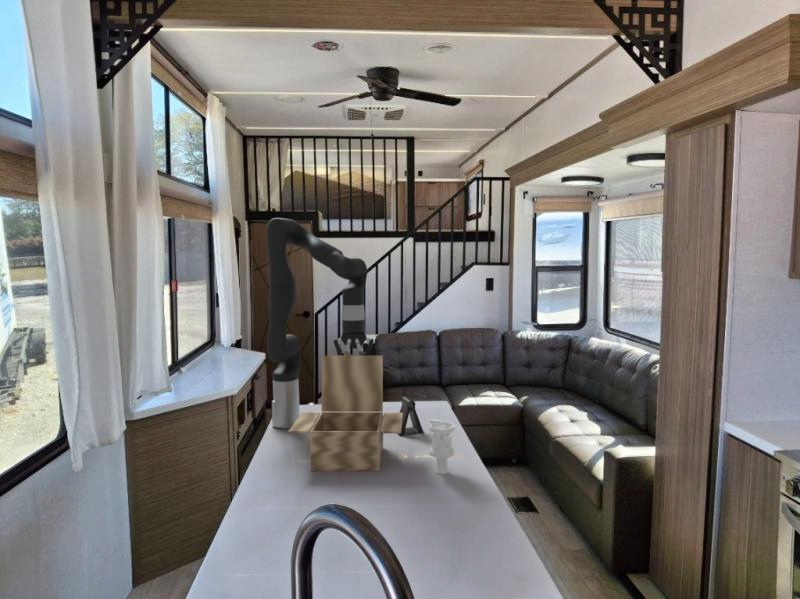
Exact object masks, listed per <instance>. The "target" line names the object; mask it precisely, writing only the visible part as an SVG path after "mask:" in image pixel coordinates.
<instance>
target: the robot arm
mask: <svg viewBox="0 0 800 599" xmlns="http://www.w3.org/2000/svg"><path fill="white" fill-rule="evenodd" d="M266 244H267V253H268V254H267V255H268V270H269V271H268V272H269V275H268V276H269V284H268V285H269V288H268V289H269V290H268V292H269V297H268V298H269V315H268V316H269V317H268V318H269V322H268V331H267V332H268V333H267V342H266V344H267V345H266V351H267V355H268V358H269V359H270V360H271V361H272V362H273V363H276V364H278V365H277V367H276V369H274V370H273V372H272V396H273V400H272V401H271V416H272V422H271V423H272V428H278V429H290V428H291V427H292V426H293V424H294V423H295V421H296V420H297V418H298V417H299V416H300V388H299V385H300V384H299V382H300V381H299V375H300V371H301V363H302V362H301V360H302V349H301V343H300V340H299V338H298V337H297V336H296V335H294V334H291V333H290V334H287V326H288V321H289V317H290V316H291V314H292V311H293V308H294V306H295V304H296V296H297V295H296V293H297V292H296V291H297V288H296V286H297V285H296V284H297V283H296V279H295V276H294V274H293V271H292V269H291V268H290V265H289V263H288V259H287V252H286V250H287V249H286V248H287V247H286V246H288V245H293V246H296V247H300V248H301V249H304V250H305V251H307V253H308V254H309V255H310V256H311V257H312V259H314V260H315V261H316V262H318V263H320V265H321V264H322V265H323V266H325V267H327V268H329V269H330V270H331V271H332V272H333V273H334V274H335V275H336V276H338V277H339V278H341V279H343V280H348V284H347V286H345V287H344V288H343V290H342V306H341V307H342V308H341V320H342V321H341V322H342V323H341V327H342V328H341V329H342V330H341V331H342V332H341V333H342V334H341V336H340V337H339V338H334V339H333V345H334V348H335V350H336V352H337V356H347V355H350V350H352V349H357V352H358V353H359V354H358V355H360V356H370V354H371V351H372V348H373V345H374V342H375V339H374V338H373V337H372V338H370V337H368V336H367V334H366V326H365V325H366V320H365V318H366V317H365V316H366V315H365V314H366V312H365V305H364V303H365V302H364V300H365V299H364V293H365V292H364V290H365V289H366V288H365V287H366V283H367V282H366V281H367V279H368V278H367V277H368V267H367V264H366V261H364V260H363V259H362V258H359V257H358V258H357V257H347V256H344V253H343V252H342V251H341V250H340V249H338V247H335V246H334V245H332V244H329V243H327V241H324V240H322V239H320V238H319V237H317V236H315V235H314V234H313V233H311V232H310V231H309V230H307V229H306V228H305V227H304V226H302V225H301V224H299V222H297V221H295V220H294V219H291V218H284V217H275V218H274V217H273V218H271V219H270V220H269V222H268V223H267V226H266ZM365 342H366V344H367V345H368V346H367V348H366V352H364V348H363V345H364V343H365ZM341 343H343V344H344V345H345V350H344V352H343V349H342V346H341V345H342V344H341Z"/></svg>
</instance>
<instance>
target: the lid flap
mask: <svg viewBox="0 0 800 599" xmlns="http://www.w3.org/2000/svg"><path fill="white" fill-rule="evenodd" d="M383 356H384V355H369V356H360V355H359V354H348V355H347V356H338V355H321V412H383V411H384V405H383V404H384V388H383V387H384V384H383V383H384V382H383V381H384V366H383V365H384V357H383ZM383 413H384V412H383Z"/></svg>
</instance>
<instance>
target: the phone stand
mask: <svg viewBox="0 0 800 599" xmlns="http://www.w3.org/2000/svg"><path fill="white" fill-rule="evenodd" d="M398 413H403V415H402V428H401V433H396V434H397V435H398V436H399V437H402V436H404V435H405V436H410V435H419V434H424V430H423V426H422V424H421V421H420V419H419V415H418V413H417V410H416V402H415V401H414V400H412V398H410V397H409V396H407V395H406V396H403V397H402V398H401V406H400V410H399V412H398ZM409 418H410V421H411V425H412V427H407V423H408V419H409Z"/></svg>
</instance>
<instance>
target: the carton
mask: <svg viewBox="0 0 800 599" xmlns="http://www.w3.org/2000/svg"><path fill="white" fill-rule="evenodd" d="M299 415H300V416H299V417H298V418H297V420H296V421H295V423H294V424H293V426H292V427H291V428H289V429H288V434H309V445H310V446H309V448H310V449H309V450H310V451H309V452H310V453H309V454H310V456H309V457H310V458H309V459H310V472H359V471H367V472H369V471H371V473H372V472H377V473H379V472H380V471H381V465H382V460H383V459H382V458H383V454H384V453H383V452H384V434H397V433H401V428H402V415H403V413H399V412H322V411H321V412H300V413H299ZM381 459H382V460H381ZM367 472H366V473H367ZM369 473H370V472H369Z"/></svg>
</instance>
